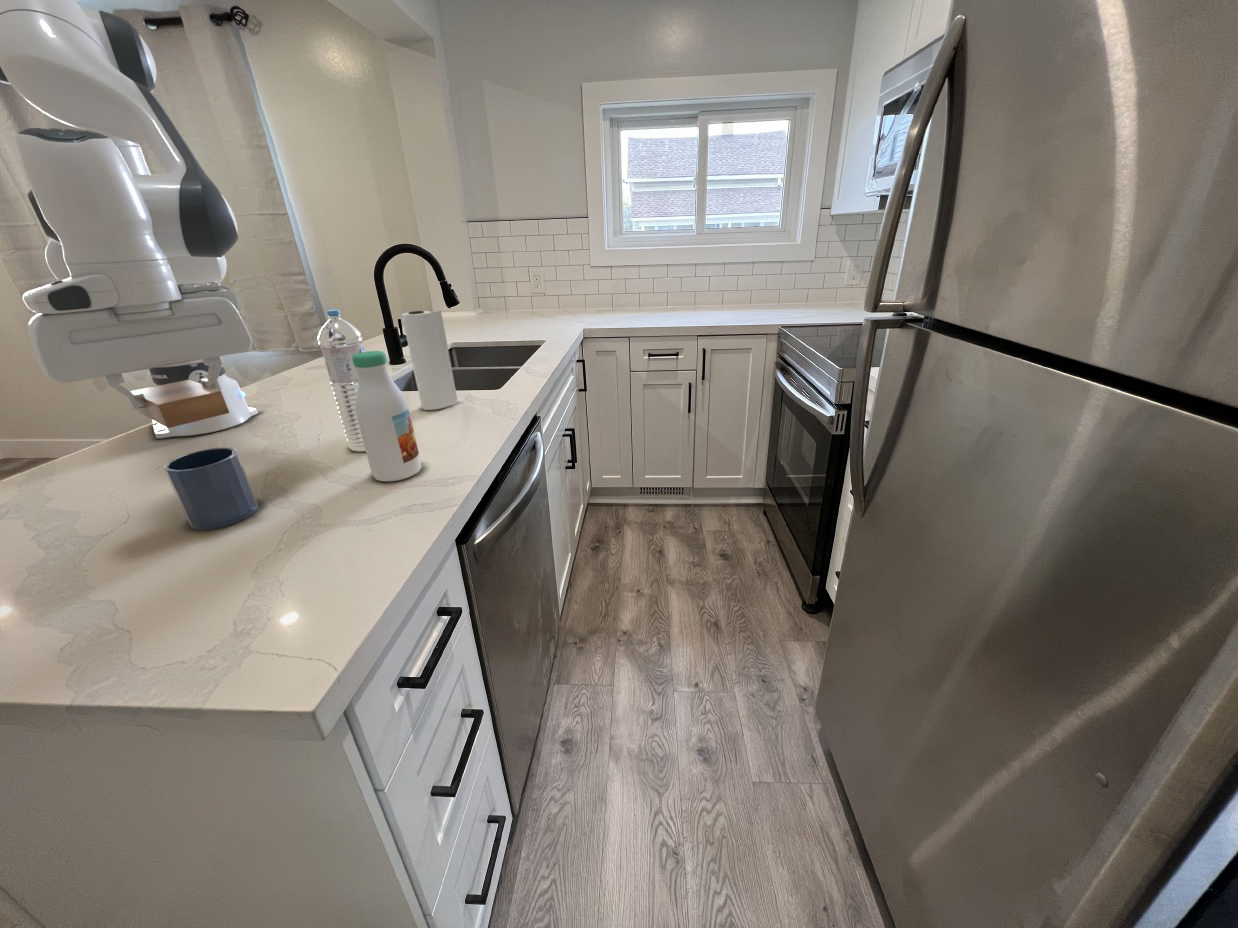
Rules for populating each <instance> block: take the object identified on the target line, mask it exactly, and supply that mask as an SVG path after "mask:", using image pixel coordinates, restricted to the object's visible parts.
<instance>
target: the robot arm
mask: <svg viewBox="0 0 1238 928" xmlns="http://www.w3.org/2000/svg"><path fill="white" fill-rule="evenodd" d="M154 59H155V58H154V56H153V54H152V52H151V49H150V47H149V46H148V44H147V43H146V42H145V40H144V39H143V37H142V36H141V35H140V33H139V32H138V29H137V28H136V27H135V26H134V25H133V24H132V23H131V22H130V21H128V19H125V18H123V17H121V16H118V15H116V14H113V13H111V12H107V11H104V10H101V9H99V11H95V10H92V9H90V8H89V9H88V8H85V7H82V6H81V5H79V3H78V2H77V0H0V83H3V84H6V85H11V87H12V88H13V89H14V91H15V92H17V94H18V95H19V96H21V97H22V98H23V99H24V100H25V101H26V102H28V104H30V105H31V106H33V107H34V108H35V109H37V110H39V111H40V112H41V113H42V116H43V119H44V122H45V125H46V127H47V128H41V127H30V128H24V129H22V130H20V131H19V132H17V133H16V134H15V138H16V143H17V147H18V148H17V149H18V151H19V156H20V158H21V162H22V166H23V168H24V172H25V175H26V177H27V180H28V184H29V186H30V188H31V189H30V190H29V191H28V192H27V198H28V201H29V202H30V204H31V207H32V208H33V211H34V213H35V215H36V217H37V219H38V221H39V224H40V226H41V228H42V229H43V232H44V234H45V235H46V236H47V238H48V239H50V240H49V241H48V243H47V245H46V247H45V252H44V253H45V254H44V255H45V262H46V264H47V265H46V266H47V267H48V269H49V271H50V272H51V273H52V275H53V276H54V277H55V279H56V280H54V281H51V282H50V283H49V284H46V285H43V286H39V287H37V288H33V289H31V290H28V291H26V292H25V293H24V294H22V299H23V300H22V301H23V302H24V304H25V306H26V308H27V309H29V310H30V311H31V312H33V313H36V314H34V315H33V316H32V317H31V318H30V320H29V322H28V326H27V329H28V336H29V340H30V343H31V346H32V349H33V352H34V354H35V358H36V360H37V362H38V364H39V367H40V368H41V371H42V372H43V374H44V375H45V376H46V378H48V379H50V380H52V381H55V382H58V383H60V384H69V383H74V382H80V381H86V380H91V379H97V378H102V379H103V381H104V383H105V384H106V385H107V386H109V388H111V389H114V390H115V391H116V392H118V393H119V394H121V395H122V396H124V397H125V400H126V402H127V404H128V406H129V408H130V409H131V410H133V411H136V410H137V411H138V409H141V408H145V407H148V405H147V403H146V401H145V397H144V394H143V393H141V392H136V393H131V392H130V391H131V390H128V389H127V388H125V387H124V386H123V385H121V384H124V383H125V380H124V377H123V375H122V374H127V373H132V372H137V371H144V370H148V371H149V375H150V378H151V379H152V382H153V383H154V384H155V386H159V385H164V384H169V383H174V382H179V381H185V380H191V381H194V382H197V383H200V384H202V385H205V386H208V387H211V388H214V389H217V390H219V391H221V392H222V395H223V397H224V400H225V402H226V405H227V408H228V410H229V413H228V414H224V415H220V416H215V417H211V418H207V419H203V420H199V421H195V422H191V423H187V424H183V425H179V426H175V427H171V428H167V427H165V426H163V425H161V424H159V423H158V422H156V421H154V420H152V419H151V424H152V427H153V431H154V436H155V438H156V439H167V438H172V437H188V436H189V437H190V436H197V435H204V434H209V433H214V432H218V431H223V430H226V429H229V428H233V427H235V426H238V425H240V424H242V423H244V422H246V421H248V420H249V419H250V418H251V417H253V416H255V415H257V414H259V411H258V409H257V408H256V407H249V405H248V403H247V401H246V399H245V397H246V393H245V392H244V391H242V390H241V387H240V385H239V383H238V381H237V380H235V379H234V378H231V377H229V376H228V375H226V374H225V373H226V369H225V367H224V363H223V361H222V360H221V358H220V357H224V356H229V355H235V354H243V353H248V352H250V351H251V349H252V347H253V344H254V343H253V342H254V341H253V339H252V336H251V334H250V331H249V330H248V327H247V325H246V323H245V321H244V320H243V318H242V316H241V314H240V308H241V307H240V303H239V300H238V298H237V295H236V293H235V292H234V290H233V289H231V288H230V287H229V286H228V285H227V286H226V285H224V284H220V283H222V281H223V280H224V278H225V276H226V274H227V259H226V257H225V255H226V254H227V253H228V252H230V250H232V249H233V247H234V246H235V245H236V244H237V242H238V240H239V235H238V234H239V233H238V232H239V231H238V223H237V220H236V216H235V215H234V212H233V210H232V208H231V205H230V204H229V202H228V201H227V199H226V198H225V197H224V195H223V194H222V193H221V191H220V190H219V188H218V187H217V185H216V184H215V183H214V182H213V180H212V179H211V178H210V176H209V175H208V174H207V173H206V172H205V170H204V168H203V167H202V166H201V164H200V163H199V161H198V159H197V158H196V156H195V155H194V153H193V152H192V149H191V148H190V147H189V145H188V144H187V142H186V140H185V139H184V138H183V136H182V135H181V133H180V131H179V130H178V128H177V126H175V124H174V122H173V121H172V119H171V118H170V116H169V115H168V114H167V112H166V110H165V109H164V108H163V106H162V105H161V103H160V102H159V101H158V99H157V98H156V96H154V94H153V93H152V92H154V91H155V89H156V82H157V81H156V80H157V68H156V62H155V60H154ZM141 147H143V148H145V149H146V150H148V151H149V152H150V153H152V155H153V157H154V158H155V160H156V162H157V163H158V164H159V166H160V168H161V169H162V170H163V172H164V173H160V174H151V172H150V169H149V167H148V165H147V162H146V159H145V156H144V154H143V150H142V148H141ZM155 423H157V424H156V425H153V424H155Z"/></svg>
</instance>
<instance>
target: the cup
mask: <svg viewBox="0 0 1238 928" xmlns="http://www.w3.org/2000/svg"><path fill="white" fill-rule="evenodd" d="M163 471H164V472H165V475H166V477H167V479H168V481H169V484H170V485H171V486H170V487H172V490H173V492H174V494H175V496H176V499H177V501H178V503H179V505H180V507H181V509H182V511H183V513H184V516H185V518H186V520H187V522H188V523H189V525H190V527H191V528H192V529H195V530H198V531H207V530H208V531H209V530H215V529H220V528H221V529H222V528H224V527H228V526H232V525H234V524H237V523H239V522H241V521H244V520H246V519H248V518H249V517H251V516H252V515H253V514H254V513H257V511H258V509H259V505H258V501H257V498H256V495H255V493H254V491H253V488H252V485H251V483H250V480H249V477H248V475H247V472H246V470H245V467H244V465H243V463H242V459H241V457H240V455H239V452H238V450H237V449H235V448H234V447H225V446H224V447H212V448H207V449H202V450H197V451H194V452H189V453H186V454H183V455H181V456H178V457H176V458H173V459H172V460H170V461H168V462H167V463H165V465H164V467H163Z"/></svg>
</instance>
